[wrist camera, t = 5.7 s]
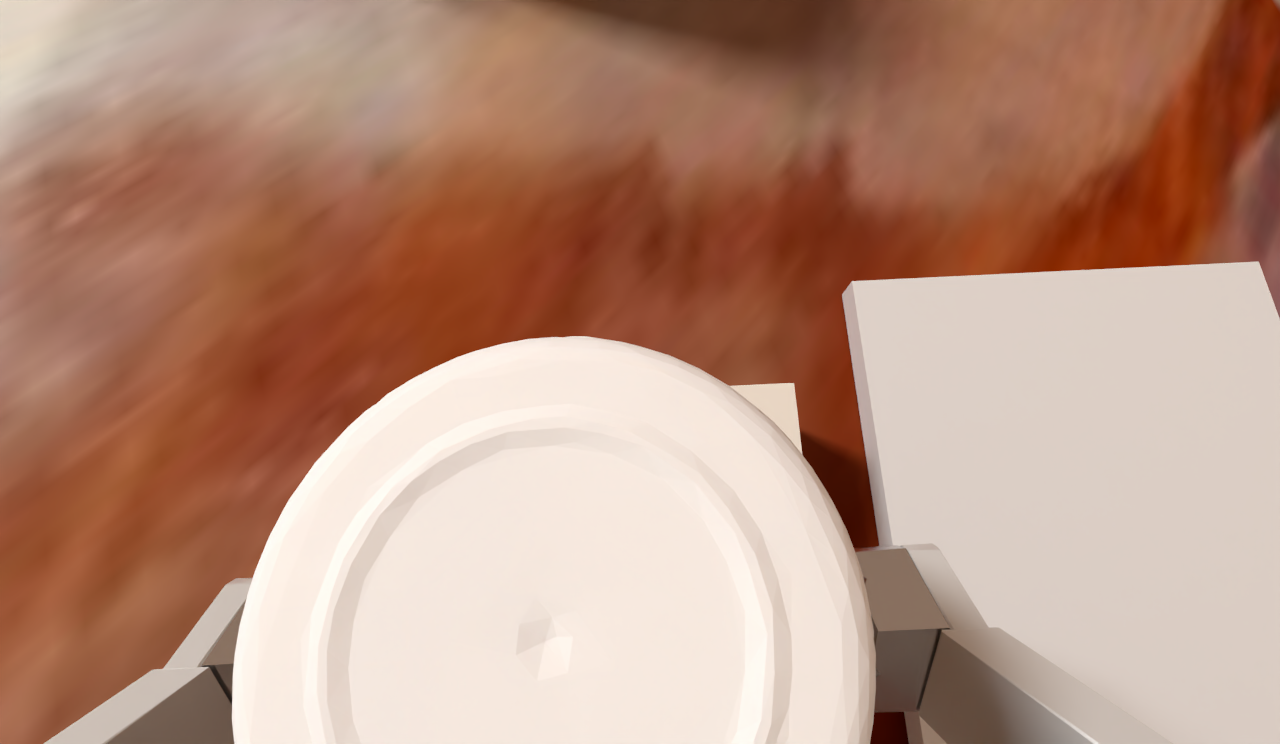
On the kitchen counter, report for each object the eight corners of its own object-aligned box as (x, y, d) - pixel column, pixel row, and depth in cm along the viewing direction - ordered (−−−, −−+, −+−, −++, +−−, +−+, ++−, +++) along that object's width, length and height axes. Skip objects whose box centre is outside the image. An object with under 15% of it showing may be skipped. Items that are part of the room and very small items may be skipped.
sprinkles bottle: (611, 458, 18) (502, 213, 5) (743, 554, 17) (1027, 562, 4) (512, 593, 17) (49, 726, 4) (646, 701, 16) (618, 1331, 3)
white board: (1519, 1114, 13) (1586, 1157, 12) (966, 1134, 13) (990, 1178, 12) (1228, 276, 19) (1258, 261, 18) (841, 295, 19) (852, 281, 18)
